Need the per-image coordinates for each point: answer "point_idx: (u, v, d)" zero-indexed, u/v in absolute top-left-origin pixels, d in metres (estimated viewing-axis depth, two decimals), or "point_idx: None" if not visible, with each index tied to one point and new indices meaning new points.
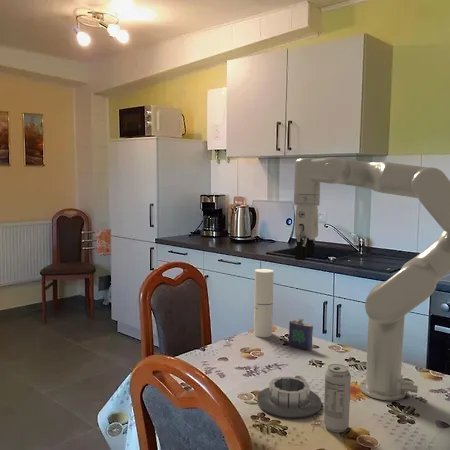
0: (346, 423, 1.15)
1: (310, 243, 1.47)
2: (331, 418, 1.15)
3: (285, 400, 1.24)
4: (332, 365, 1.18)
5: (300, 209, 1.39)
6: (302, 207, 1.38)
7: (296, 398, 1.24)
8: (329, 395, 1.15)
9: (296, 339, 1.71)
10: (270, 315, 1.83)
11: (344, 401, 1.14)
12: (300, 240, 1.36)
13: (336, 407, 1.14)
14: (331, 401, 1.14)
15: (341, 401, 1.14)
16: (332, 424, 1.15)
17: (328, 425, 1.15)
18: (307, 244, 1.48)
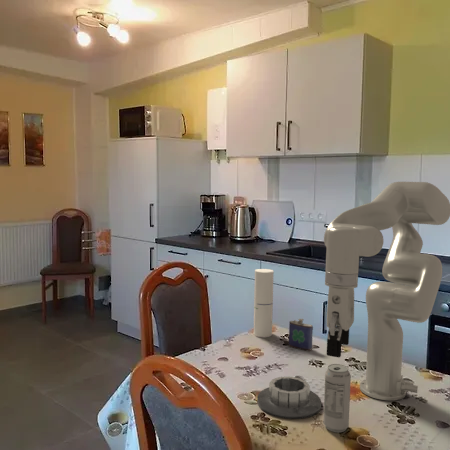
0: (346, 423, 1.15)
1: (344, 329, 1.19)
2: (331, 418, 1.15)
3: (285, 400, 1.24)
4: (332, 365, 1.18)
5: (334, 293, 1.10)
6: (337, 290, 1.10)
7: (296, 398, 1.24)
8: (329, 395, 1.15)
9: (296, 339, 1.71)
10: (270, 315, 1.83)
11: (344, 401, 1.14)
12: (334, 333, 1.08)
13: (336, 407, 1.14)
14: (331, 401, 1.14)
15: (341, 401, 1.14)
16: (332, 424, 1.15)
17: (328, 425, 1.15)
18: None
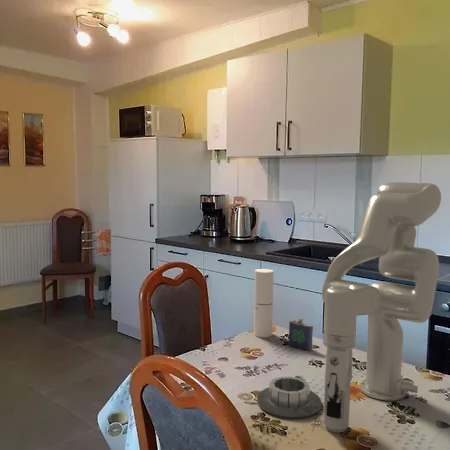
0: (346, 423, 1.15)
1: None
2: (331, 418, 1.15)
3: (285, 400, 1.24)
4: None
5: (332, 354, 1.12)
6: (335, 352, 1.11)
7: (296, 398, 1.24)
8: None
9: (296, 340, 1.71)
10: (270, 315, 1.83)
11: (344, 401, 1.14)
12: (334, 397, 1.11)
13: None
14: None
15: (341, 401, 1.14)
16: (332, 424, 1.15)
17: (328, 425, 1.15)
18: None
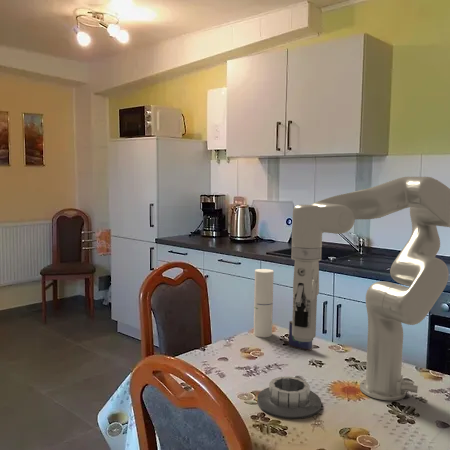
0: (313, 333, 1.22)
1: None
2: (299, 328, 1.21)
3: (285, 400, 1.24)
4: None
5: (299, 265, 1.18)
6: (302, 263, 1.18)
7: (296, 398, 1.24)
8: None
9: None
10: (270, 315, 1.83)
11: (311, 311, 1.21)
12: (301, 306, 1.17)
13: None
14: None
15: (308, 311, 1.20)
16: (299, 334, 1.21)
17: (296, 335, 1.22)
18: None
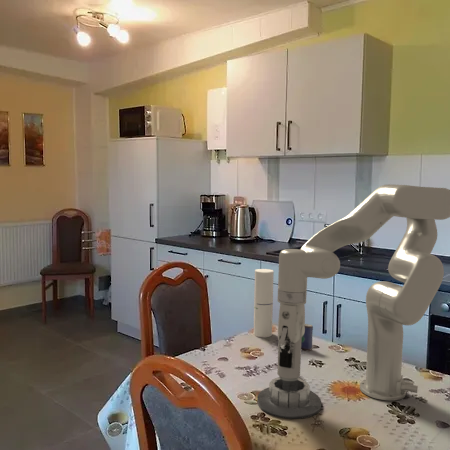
0: (297, 373, 1.26)
1: None
2: (283, 368, 1.26)
3: (285, 400, 1.24)
4: None
5: (284, 309, 1.23)
6: (286, 307, 1.23)
7: (296, 398, 1.24)
8: None
9: None
10: (270, 315, 1.83)
11: (295, 352, 1.25)
12: (284, 348, 1.22)
13: None
14: None
15: (292, 352, 1.25)
16: (284, 374, 1.26)
17: (281, 375, 1.27)
18: None
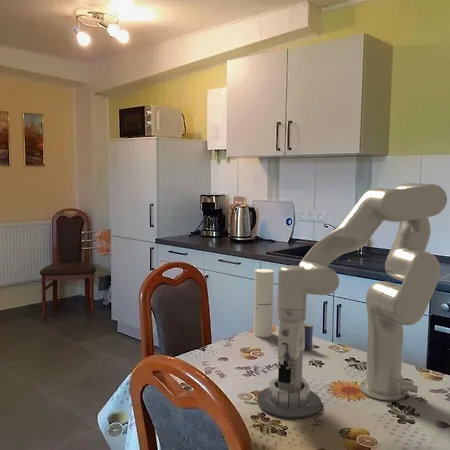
0: None
1: None
2: (284, 389, 1.27)
3: (285, 400, 1.24)
4: None
5: (284, 326, 1.23)
6: (286, 324, 1.23)
7: (296, 398, 1.24)
8: None
9: None
10: (270, 315, 1.83)
11: (296, 374, 1.26)
12: (283, 363, 1.21)
13: None
14: None
15: (293, 374, 1.26)
16: None
17: None
18: None
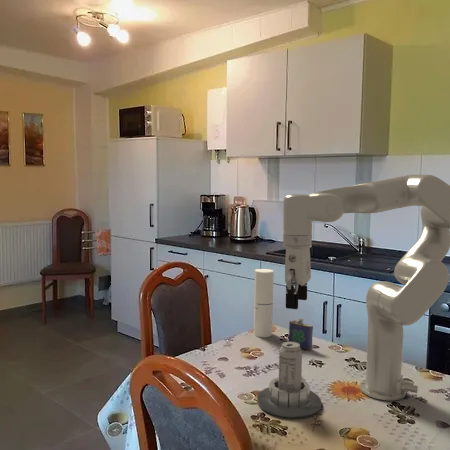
0: None
1: (302, 286, 1.33)
2: (284, 389, 1.27)
3: (285, 400, 1.24)
4: (286, 342, 1.30)
5: (290, 252, 1.24)
6: (292, 250, 1.24)
7: (296, 398, 1.24)
8: (282, 368, 1.27)
9: (296, 339, 1.71)
10: (270, 315, 1.83)
11: (295, 374, 1.26)
12: (291, 288, 1.22)
13: (288, 379, 1.26)
14: (283, 374, 1.27)
15: (292, 374, 1.26)
16: None
17: None
18: (299, 288, 1.33)
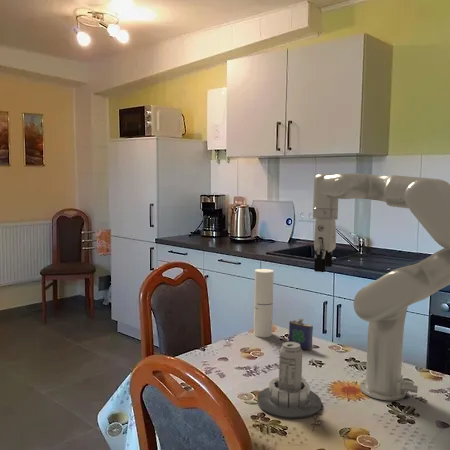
0: None
1: (328, 255, 1.54)
2: (284, 389, 1.27)
3: (285, 400, 1.24)
4: (286, 342, 1.30)
5: (319, 223, 1.45)
6: (321, 221, 1.44)
7: (296, 398, 1.24)
8: (282, 368, 1.27)
9: (296, 339, 1.71)
10: (270, 315, 1.83)
11: (296, 374, 1.26)
12: (319, 253, 1.42)
13: (288, 379, 1.26)
14: (284, 374, 1.27)
15: (292, 374, 1.26)
16: None
17: None
18: (325, 256, 1.54)
